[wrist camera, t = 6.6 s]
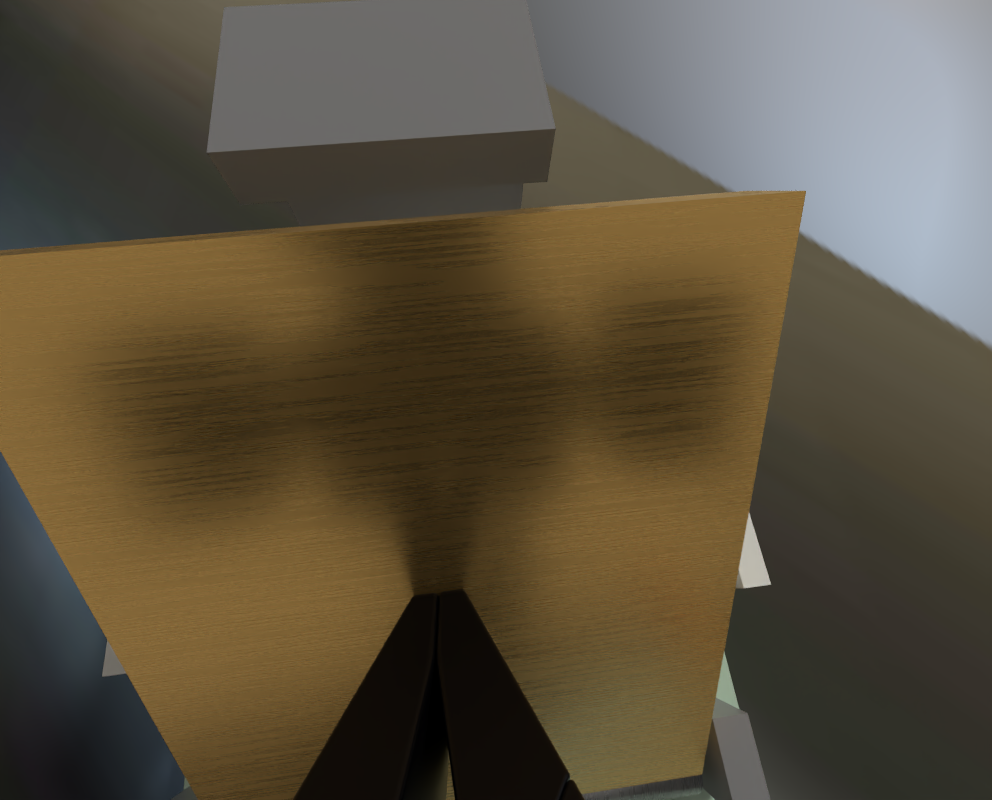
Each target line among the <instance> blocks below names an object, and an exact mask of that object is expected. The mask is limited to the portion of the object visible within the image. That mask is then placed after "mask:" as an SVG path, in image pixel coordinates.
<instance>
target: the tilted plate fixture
mask: <svg viewBox="0 0 992 800" xmlns="http://www.w3.org/2000/svg"><path fill="white" fill-rule="evenodd" d="M555 129H556V128H555V124H554V120H553V115H552V111H551V106H550V102H549V98H548V93H547V89H546V85H545V80H544V76H543V71H542V67H541V63H540V58H539V54H538V49H537V45H536V41H535V36H534V32H533V28H532V23H531V19H530V14H529V10H528V6H527V1H526V0H363V1H343V2H322V3H302V4H282V5H261V6H241V7H224V13H223V21H222V30H221V38H220V47H219V55H218V63H217V72H216V80H215V88H214V97H213V105H212V113H211V122H210V130H209V139H208V147H207V154H208V155H209V157H210V158H211V160H212V162H213V163H214V165H215V166H216V168H217V169H218V171H219V172H220V174H221V176H222V177H223V179H224V180H225V182H226V183H227V185H228V186H229V188H230V190H231V191H232V193H233V194H234V196H235V197H236V199H237V200H238V202H239V203H240V205H246V204H259V203H272V202H286V201H287V202H288V204H289V206H290V208H291V210H292V212H293V214H294V216H295V218H296V220H297V221H298V223H299V225H300V227H302V226H314V225H327V224H339V223H352V222H364V221H377V220H389V219H402V218H414V217H427V216H439V215H452V214H464V213H477V212H489V211H502V210H514V209H521V201H522V191H523V183H534V182H547V179H548V173H549V167H550V160H551V154H552V148H553V142H554V135H555ZM763 585H771V583H770V580H769V576H768V573H767V570H766V567H765V563H764V560H763V557H762V554H761V550H760V547H759V544H758V540H757V537H756V534H755V531H754V527H753V524H752V521H751V517H750V514H748V520H747V525H746V531H745V537H744V542H743V548H742V553H741V559H740V565H739V570H738V576H737V581H736V587H735V588H749V587H756V586H763ZM119 674H126V672H125V670H124V668H123V666H122V665H121V663H120V661H119V659H118V658H117V656H116V654H115V652H114V651H113V649H112V647H111V645H110V643H109V642H108V640H107V646H106V653H105V659H104V666H103V673H102V677H104V676H112V675H119ZM702 778H703V790H702V792H701V793H700V794H695V795H689V796H683V797H677V798H671V799H666V800H770V796H769V792H768V789H767V785H766V781H765V777H764V774H763V770H762V766H761V762H760V759H759V755H758V751H757V747H756V743H755V740H754V736H753V732H752V728H751V725H750V721H749V717H748V713H746V712H744V711H742V710H740V709H739V707H738V703H737V699H736V695H735V691H734V688H733V684H732V680H731V676H730V672H729V668H728V664H727V661H726V657H725V653H724V654H723V660H722V666H721V671H720V677H719V682H718V688H717V694H716V699H715V705H714V710H713V716H712V722H711V727H710V733H709V739H708V744H707V750H706V755H705V761H704V767H703V772H702ZM171 800H198V799H197V797H196V795H195V794H194V792H193V790H192V788H191V787H190V785H189V783H188V781H187V779H186V778H185V780H184V790H183V791H182V792H181V793H179V794H178V795H176V796H175V797H173V798H172V799H171Z"/></svg>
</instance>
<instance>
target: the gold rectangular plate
mask: <svg viewBox="0 0 992 800" xmlns="http://www.w3.org/2000/svg"><path fill="white" fill-rule="evenodd" d="M805 194H806V191H739V192H727V193H714V194H702V195H689V196H677V197H664V198H652V199H639V200H627V201H614V202H602V203H589V204H577V205H564V206H552V207H539V208H527V209H514V210H502V211H489V212H477V213H464V214H452V215H439V216H427V217H414V218H402V219H389V220H377V221H364V222H352V223H339V224H327V225H314V226H302V227H289V228H277V229H264V230H252V231H239V232H227V233H214V234H202V235H189V236H177V237H164V238H152V239H139V240H127V241H114V242H101V243H89V244H76V245H64V246H51V247H39V248H26V249H14V250H1V251H0V451H1V453H2V454H3V456H4V458H5V460H6V461H7V463H8V465H9V467H10V469H11V470H12V472H13V474H14V476H15V477H16V479H17V481H18V483H19V484H20V486H21V488H22V490H23V492H24V493H25V495H26V497H27V499H28V500H29V502H30V504H31V506H32V507H33V509H34V511H35V513H36V514H37V516H38V518H39V520H40V522H41V523H42V525H43V527H44V529H45V530H46V532H47V534H48V536H49V537H50V539H51V541H52V543H53V545H54V546H55V548H56V550H57V552H58V553H59V555H60V557H61V559H62V560H63V562H64V564H65V566H66V567H67V569H68V571H69V573H70V575H71V576H72V578H73V580H74V582H75V583H76V585H77V587H78V589H79V590H80V592H81V594H82V596H83V598H84V599H85V601H86V603H87V605H88V606H89V608H90V610H91V612H92V613H93V615H94V617H95V619H96V620H97V622H98V624H99V626H100V628H101V629H102V631H103V633H104V635H105V636H106V638H107V640H108V642H109V643H110V645H111V647H112V649H113V651H114V652H115V654H116V656H117V658H118V659H119V661H120V663H121V665H122V666H123V668H124V670H125V672H126V673H127V675H128V677H129V679H130V681H131V682H132V684H133V686H134V688H135V689H136V691H137V693H138V695H139V696H140V698H141V700H142V702H143V704H144V705H145V707H146V709H147V711H148V712H149V714H150V716H151V718H152V719H153V721H154V723H155V725H156V726H157V728H158V730H159V732H160V734H161V735H162V737H163V739H164V741H165V742H166V744H167V746H168V748H169V749H170V751H171V753H172V755H173V757H174V758H175V760H176V762H177V764H178V765H179V767H180V769H181V771H182V772H183V774H184V776H185V778H186V779H187V781H188V783H189V785H190V787H191V788H192V790H193V792H194V794H195V795H196V797H197V799H198V800H292V799H293V798H294V796H295V794H296V792H297V791H298V789H299V787H300V786H301V784H302V782H303V781H304V779H305V777H306V776H307V774H308V772H309V770H310V769H311V767H312V765H313V764H314V762H315V760H316V759H317V757H318V755H319V754H320V752H321V750H322V748H323V747H324V745H325V743H326V742H327V740H328V738H329V737H330V735H331V733H332V731H333V730H334V728H335V726H336V725H337V723H338V721H339V720H340V718H341V716H342V715H343V713H344V711H345V709H346V708H347V706H348V704H349V703H350V701H351V699H352V698H353V696H354V694H355V693H356V691H357V689H358V687H359V686H360V684H361V682H362V681H363V679H364V677H365V676H366V674H367V672H368V670H369V669H370V667H371V665H372V664H373V662H374V660H375V659H376V657H377V655H378V654H379V652H380V650H381V648H382V647H383V645H384V643H385V642H386V640H387V638H388V637H389V635H390V633H391V632H392V630H393V628H394V626H395V625H396V623H397V621H398V620H399V618H400V616H401V615H402V613H403V611H404V609H405V608H406V606H407V604H408V603H409V601H410V599H411V598H412V597H413V596H415V595H419V594H427V593H437V594H438V595H440V593H441V592H443V591H450V590H457V589H463V590H464V591H465V592H466V593H467V595H468V596H469V598H470V600H471V602H472V603H473V605H474V607H475V609H476V610H477V612H478V614H479V616H480V617H481V619H482V621H483V623H484V624H485V626H486V628H487V630H488V631H489V633H490V635H491V637H492V638H493V640H494V642H495V644H496V645H497V647H498V649H499V651H500V652H501V654H502V656H503V658H504V659H505V661H506V663H507V665H508V666H509V668H510V670H511V672H512V673H513V675H514V677H515V679H516V680H517V682H518V684H519V686H520V687H521V689H522V691H523V693H524V695H525V696H526V698H527V700H528V702H529V703H530V705H531V707H532V709H533V710H534V712H535V714H536V716H537V717H538V719H539V721H540V723H541V724H542V726H543V728H544V730H545V731H546V733H547V735H548V737H549V738H550V740H551V742H552V744H553V745H554V747H555V749H556V751H557V752H558V754H559V756H560V758H561V759H562V761H563V763H564V765H565V766H566V768H567V770H568V772H569V774H570V780H573V781H574V782H575V783H576V785H577V787H578V789H579V790H580V792H581V794H582V796H583V797H584V799H585V800H666V799H671V798H677V797H683V796H689V795H695V794H700V793H701V792H702V790H703V778H702V772H703V767H704V761H705V755H706V750H707V744H708V739H709V733H710V727H711V722H712V716H713V710H714V705H715V699H716V694H717V688H718V682H719V677H720V671H721V666H722V660H723V654H724V649H725V643H726V638H727V632H728V626H729V621H730V615H731V609H732V604H733V598H734V593H735V587H736V581H737V576H738V570H739V565H740V559H741V553H742V548H743V542H744V537H745V531H746V525H747V520H748V514H749V508H750V503H751V497H752V492H753V486H754V480H755V475H756V469H757V464H758V458H759V452H760V447H761V441H762V436H763V430H764V424H765V419H766V413H767V408H768V402H769V396H770V391H771V385H772V379H773V374H774V368H775V363H776V357H777V351H778V346H779V340H780V335H781V329H782V323H783V318H784V312H785V307H786V301H787V295H788V290H789V284H790V278H791V273H792V267H793V262H794V256H795V250H796V245H797V239H798V234H799V227H800V222H801V217H802V211H803V206H804V200H805ZM446 800H455V796H454V789H453V782H452V775H451V767H450V760H449V765H448V780H447V796H446Z"/></svg>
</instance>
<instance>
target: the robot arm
mask: <svg viewBox="0 0 992 800" xmlns="http://www.w3.org/2000/svg"><path fill="white" fill-rule="evenodd" d="M449 760H450V767H451V775H452V782H453V789H454V796H455V800H585V799H584V797H583V796H582V794H581V792H580V790H579V789H578V787H577V785H576V783H575V782H574V781H573V780H570V774H569V772H568V770H567V768H566V766H565V765H564V763H563V761H562V759H561V758H560V756H559V754H558V752H557V751H556V749H555V747H554V745H553V744H552V742H551V740H550V738H549V737H548V735H547V733H546V731H545V730H544V728H543V726H542V724H541V723H540V721H539V719H538V717H537V716H536V714H535V712H534V710H533V709H532V707H531V705H530V703H529V702H528V700H527V698H526V696H525V695H524V693H523V691H522V689H521V687H520V686H519V684H518V682H517V680H516V679H515V677H514V675H513V673H512V672H511V670H510V668H509V666H508V665H507V663H506V661H505V659H504V658H503V656H502V654H501V652H500V651H499V649H498V647H497V645H496V644H495V642H494V640H493V638H492V637H491V635H490V633H489V631H488V630H487V628H486V626H485V624H484V623H483V621H482V619H481V617H480V616H479V614H478V612H477V610H476V609H475V607H474V605H473V603H472V602H471V600H470V598H469V596H468V595H467V593H466V592H465V591H464V590H463V589H457V590H450V591H443V592H441V593H440V595H438V594H437V593H427V594H419V595H415V596H413V597H412V598H411V599H410V601H409V603H408V604H407V606H406V608H405V609H404V611H403V613H402V615H401V616H400V618H399V620H398V621H397V623H396V625H395V626H394V628H393V630H392V632H391V633H390V635H389V637H388V638H387V640H386V642H385V643H384V645H383V647H382V648H381V650H380V652H379V654H378V655H377V657H376V659H375V660H374V662H373V664H372V665H371V667H370V669H369V670H368V672H367V674H366V676H365V677H364V679H363V681H362V682H361V684H360V686H359V687H358V689H357V691H356V693H355V694H354V696H353V698H352V699H351V701H350V703H349V704H348V706H347V708H346V709H345V711H344V713H343V715H342V716H341V718H340V720H339V721H338V723H337V725H336V726H335V728H334V730H333V731H332V733H331V735H330V737H329V738H328V740H327V742H326V743H325V745H324V747H323V748H322V750H321V752H320V754H319V755H318V757H317V759H316V760H315V762H314V764H313V765H312V767H311V769H310V770H309V772H308V774H307V776H306V777H305V779H304V781H303V782H302V784H301V786H300V787H299V789H298V791H297V792H296V794H295V796H294V798H293V799H292V800H446V796H447V780H448V765H449Z"/></svg>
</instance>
